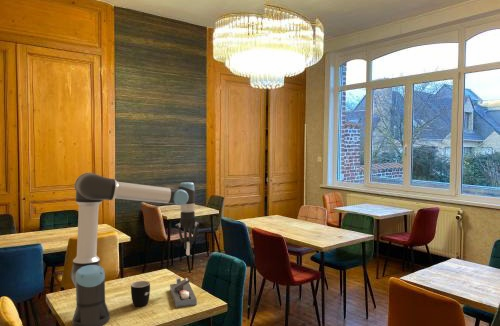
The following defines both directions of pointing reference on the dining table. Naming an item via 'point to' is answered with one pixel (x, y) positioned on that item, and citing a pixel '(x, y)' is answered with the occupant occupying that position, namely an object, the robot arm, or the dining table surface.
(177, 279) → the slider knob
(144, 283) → the mug
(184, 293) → the cream button
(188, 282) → the rocker
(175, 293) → the panel
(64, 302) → the dining table surface
